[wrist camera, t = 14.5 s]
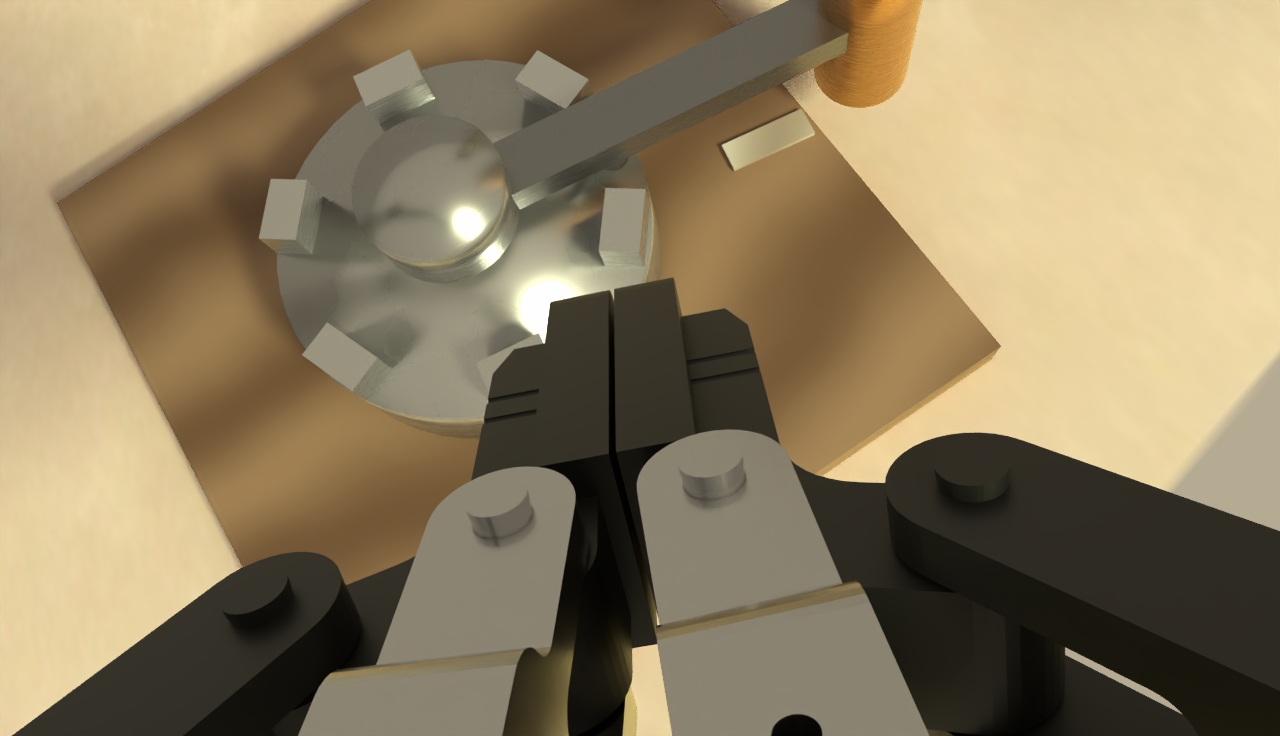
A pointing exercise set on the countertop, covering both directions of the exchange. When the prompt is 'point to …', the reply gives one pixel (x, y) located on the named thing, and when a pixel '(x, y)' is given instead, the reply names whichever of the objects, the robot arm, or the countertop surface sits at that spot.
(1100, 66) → the countertop surface
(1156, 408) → the countertop surface
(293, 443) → the base plate
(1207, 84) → the countertop surface
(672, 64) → the wooden handle lever
